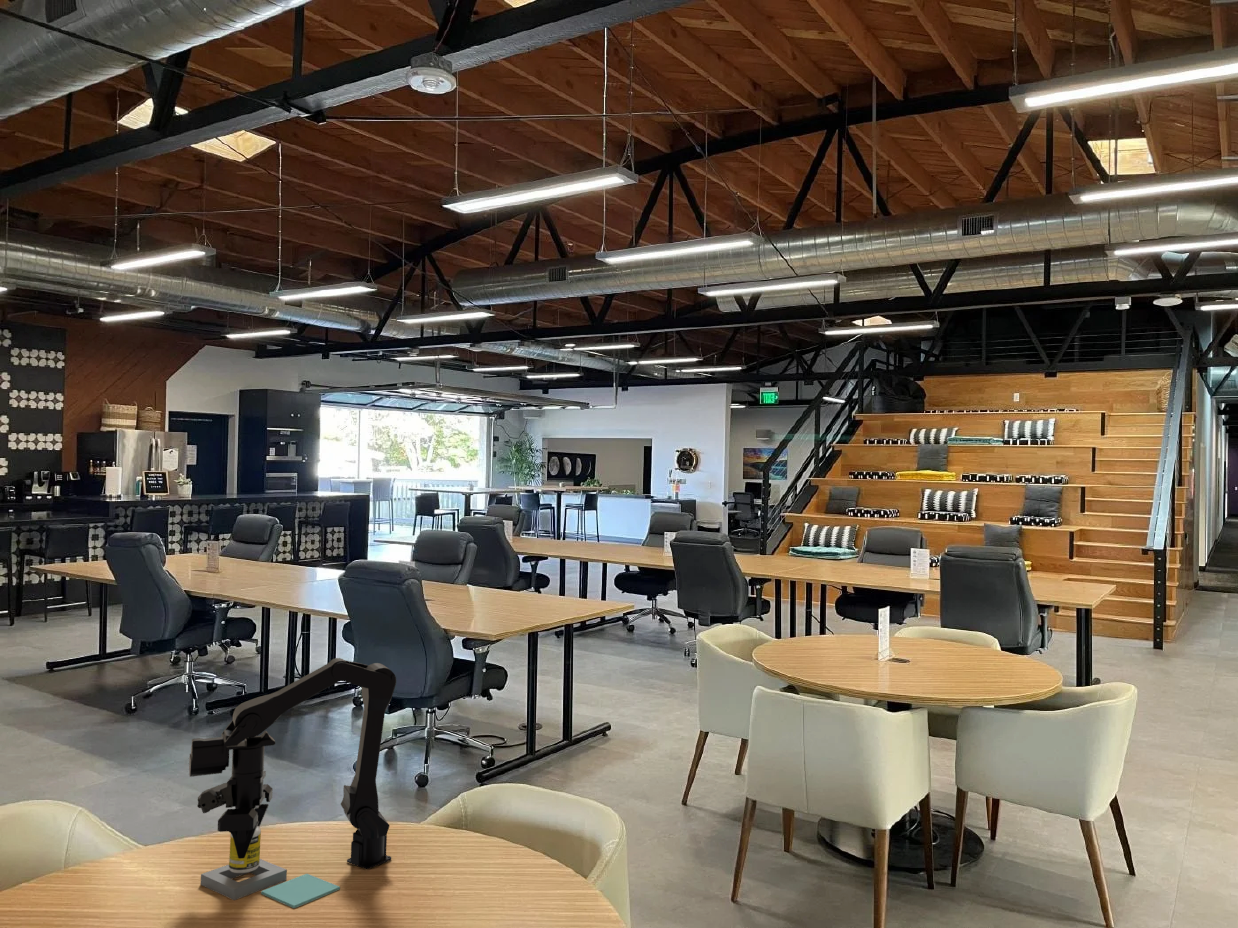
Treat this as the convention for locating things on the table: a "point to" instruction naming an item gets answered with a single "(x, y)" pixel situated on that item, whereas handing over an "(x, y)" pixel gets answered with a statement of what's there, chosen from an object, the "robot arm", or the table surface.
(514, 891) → the table surface
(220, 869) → the socket block
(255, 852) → the supplement bottle
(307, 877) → the mat
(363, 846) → the robot arm
